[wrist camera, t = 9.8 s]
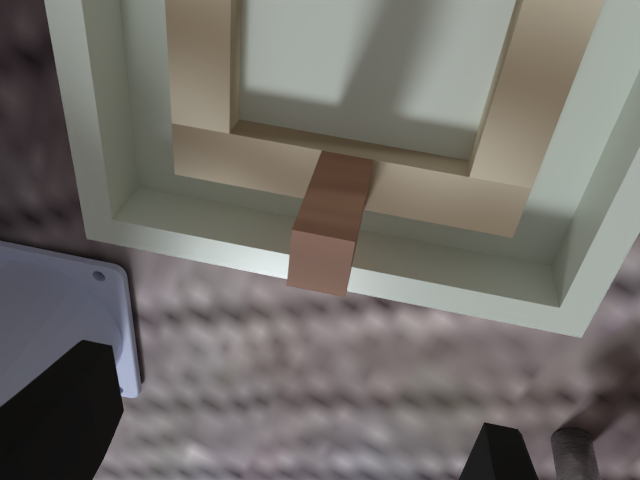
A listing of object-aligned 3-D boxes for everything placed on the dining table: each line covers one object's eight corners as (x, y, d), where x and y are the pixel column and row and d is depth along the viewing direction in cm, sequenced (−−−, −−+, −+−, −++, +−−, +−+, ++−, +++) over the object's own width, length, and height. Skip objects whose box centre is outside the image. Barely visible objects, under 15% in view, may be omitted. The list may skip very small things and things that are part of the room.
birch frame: (168, -267, 12) (38, -303, 9) (668, -203, 12) (780, -212, 8) (186, 159, 19) (116, 251, 15) (510, 219, 18) (526, 333, 14)
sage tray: (120, 198, 21) (86, 238, 19) (35, -486, 11) (-54, -550, 9) (568, 285, 20) (581, 337, 18) (904, -402, 10) (1017, -455, 8)
